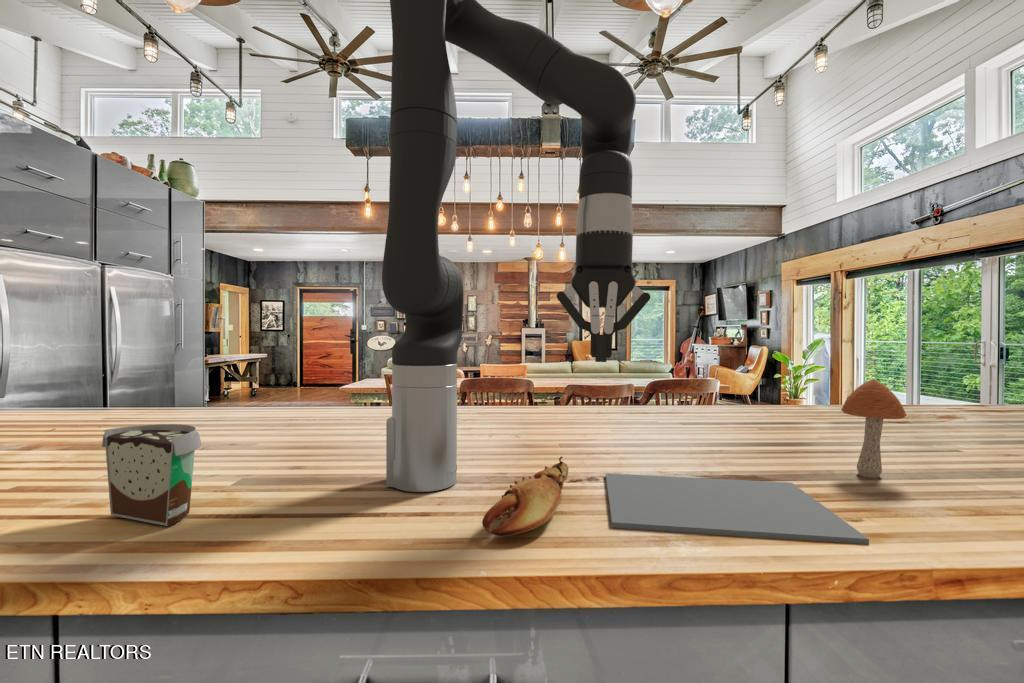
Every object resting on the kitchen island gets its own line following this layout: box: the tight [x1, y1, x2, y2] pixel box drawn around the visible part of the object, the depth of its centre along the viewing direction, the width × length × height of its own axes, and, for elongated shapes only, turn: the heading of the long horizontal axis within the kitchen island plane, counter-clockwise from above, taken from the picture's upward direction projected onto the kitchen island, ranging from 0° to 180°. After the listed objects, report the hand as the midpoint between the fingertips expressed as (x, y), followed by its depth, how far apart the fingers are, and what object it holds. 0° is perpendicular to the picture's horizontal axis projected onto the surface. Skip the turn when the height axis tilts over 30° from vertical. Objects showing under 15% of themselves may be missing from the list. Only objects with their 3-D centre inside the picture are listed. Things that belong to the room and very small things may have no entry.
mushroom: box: [841, 378, 907, 479], centre depth 73 cm, size 8×8×15 cm
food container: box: [101, 423, 202, 527], centre depth 58 cm, size 12×6×10 cm, turn 71°
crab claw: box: [481, 456, 569, 537], centre depth 58 cm, size 7×5×20 cm
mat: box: [605, 472, 870, 545], centre depth 61 cm, size 26×19×1 cm
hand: (600, 361), depth 65 cm, fingers closed
